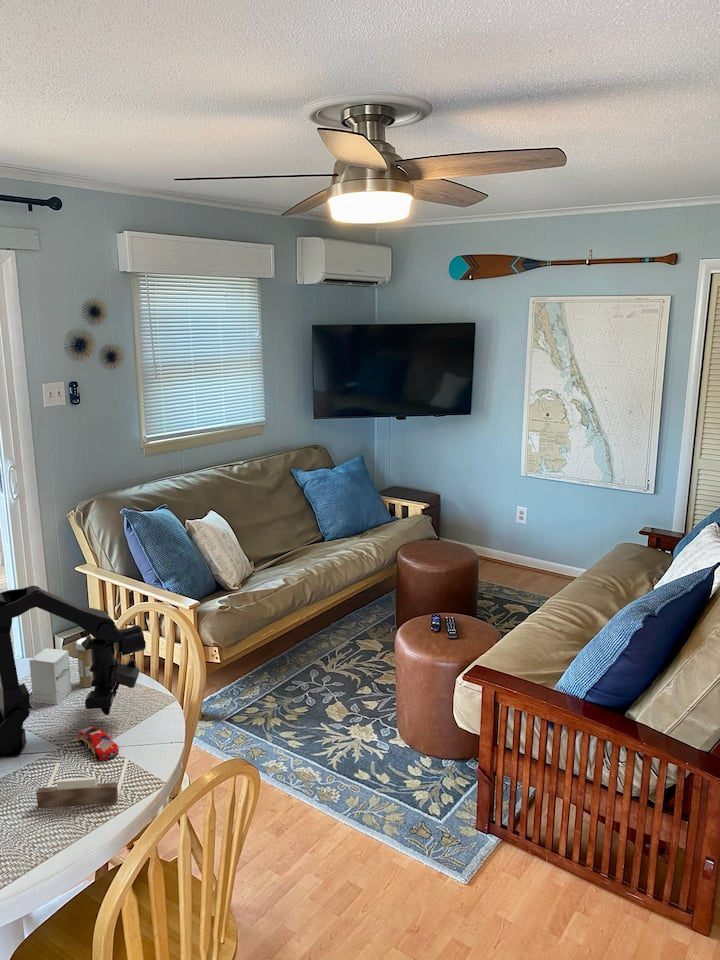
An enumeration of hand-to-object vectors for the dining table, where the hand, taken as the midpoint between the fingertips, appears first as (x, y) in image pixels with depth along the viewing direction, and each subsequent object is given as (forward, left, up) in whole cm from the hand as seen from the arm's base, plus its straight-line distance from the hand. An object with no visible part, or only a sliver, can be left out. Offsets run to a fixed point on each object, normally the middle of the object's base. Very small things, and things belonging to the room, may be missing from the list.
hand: (107, 714), depth 189 cm
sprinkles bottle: (-9, +19, -2) cm, 21 cm away
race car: (0, -12, -2) cm, 13 cm away
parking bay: (0, -26, -1) cm, 26 cm away
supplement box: (-17, +13, -2) cm, 21 cm away
